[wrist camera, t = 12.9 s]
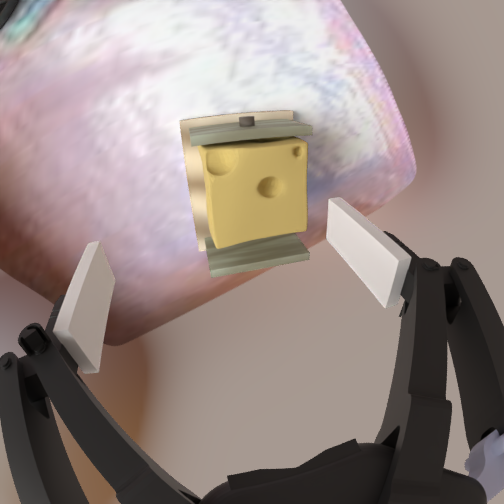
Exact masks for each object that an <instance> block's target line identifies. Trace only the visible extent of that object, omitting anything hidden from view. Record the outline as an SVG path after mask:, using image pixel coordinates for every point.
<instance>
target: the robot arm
mask: <svg viewBox="0 0 504 504" xmlns="http://www.w3.org/2000/svg"><path fill="white" fill-rule="evenodd" d="M17 2H18V0H0V28H1V27H2V26H3V25H4V23H5V22H6V21H7V19H8V18H9V16H10V15H11V13H12V11H13V10H14V8H15V6H16V4H17ZM326 239H327V240H328V242H329V243H330V244H331V245H332V246H333V247H334V248H335V249H336V251H337V252H338V253H339V254H340V255H341V256H342V258H343V259H344V260H345V261H346V262H347V263H348V265H349V266H350V267H351V268H352V269H353V270H354V272H355V273H356V274H357V275H358V276H359V278H360V279H361V280H362V281H363V282H364V283H365V285H366V286H367V287H368V288H369V290H370V291H371V292H372V293H373V295H374V296H375V297H376V298H377V300H378V301H379V302H380V303H381V304H382V306H383V307H384V308H385V309H387V308H389V307H392V306H395V305H397V304H398V301H399V298H400V295H401V296H402V297H403V298H404V299H405V301H404V304H403V307H402V310H401V313H400V315H399V317H401V316H402V320H401V329H400V337H399V344H398V351H397V357H396V363H395V369H394V375H393V380H392V385H391V390H390V394H389V399H388V403H387V408H386V412H385V416H384V420H383V423H382V426H381V429H380V431H379V433H378V435H377V437H376V439H375V442H374V443H357V441H356V439H353V440H350V441H347V442H345V443H342V444H340V445H338V446H335V447H332V448H329V449H327V450H325V451H323V452H322V453H320V454H319V455H317V456H316V457H314V458H312V459H311V460H309V461H308V462H306V463H304V464H302V465H300V466H299V467H296V468H286V469H259V470H254V471H250V472H245V473H240V474H235V475H229V476H227V478H228V481H227V482H225V483H222V484H221V485H219V486H217V487H216V488H214V489H213V490H211V491H210V492H209V493H208V494H207V495H205V497H204V498H203V499H200V498H199V497H198V496H197V495H195V494H194V493H193V492H191V491H190V490H189V489H187V488H186V487H184V486H183V485H181V484H180V483H179V482H177V481H176V480H175V479H174V478H173V477H171V476H170V475H169V474H168V473H167V472H166V471H165V470H163V469H162V468H161V467H160V466H159V465H158V464H157V463H156V462H154V461H153V460H152V459H151V458H150V457H149V456H148V455H147V454H146V453H145V452H144V451H143V450H142V449H141V448H140V447H139V446H138V445H137V444H136V443H135V442H134V441H133V440H132V439H131V438H130V437H129V436H128V435H127V434H126V432H125V431H124V430H123V429H122V428H121V427H120V426H119V425H118V424H117V423H116V421H115V420H114V419H113V418H112V417H111V416H110V414H109V413H108V412H107V411H106V410H105V409H104V407H103V406H102V405H101V404H100V402H99V401H98V400H97V399H96V397H95V396H94V395H93V394H92V392H91V391H90V390H89V388H88V387H87V386H86V384H85V383H84V382H83V380H82V379H81V378H80V376H79V375H78V374H77V369H78V366H79V367H80V368H81V370H82V371H83V372H84V373H98V372H99V366H100V359H101V352H102V346H103V340H104V334H105V328H106V322H107V317H108V312H109V307H110V302H111V298H112V293H113V289H114V284H115V278H114V276H113V273H112V271H111V268H110V266H109V263H108V261H107V258H106V255H105V253H104V250H103V248H102V245H101V242H100V241H96V242H91V243H88V245H87V247H86V249H85V251H84V253H83V255H82V258H81V260H80V262H79V264H78V267H77V269H76V271H75V274H74V276H73V278H72V281H71V283H70V286H69V288H68V291H67V293H66V295H61V296H60V298H59V299H58V300H57V301H56V303H55V305H54V307H53V310H52V311H53V312H52V313H51V316H50V319H49V321H48V324H47V326H46V329H45V331H44V329H43V328H42V326H41V325H40V324H38V323H32V324H30V325H28V326H26V327H25V328H24V329H23V330H22V331H21V333H20V335H19V338H18V343H19V345H20V346H21V347H22V348H23V350H24V351H25V352H26V354H27V355H26V356H24V357H21V358H19V359H18V357H17V356H16V355H15V354H14V353H13V352H8V353H5V354H4V355H2V356H1V358H0V419H1V426H2V432H3V438H4V443H5V448H6V453H7V458H8V462H9V466H10V469H11V473H12V477H13V480H14V484H15V487H16V490H17V493H18V496H19V499H20V502H21V504H89V502H88V500H87V498H86V496H85V494H84V492H83V490H82V488H81V486H80V484H79V482H78V479H77V477H76V475H75V473H74V471H73V468H72V466H71V463H70V460H69V458H68V455H67V453H66V450H65V447H64V445H63V442H62V439H61V436H60V433H59V430H58V427H57V424H56V420H55V417H54V414H53V410H52V407H51V403H50V400H51V402H52V403H53V405H54V407H55V409H56V410H57V412H58V414H59V415H60V417H61V418H62V420H63V422H64V423H65V425H66V426H67V428H68V430H69V431H70V432H71V434H72V436H73V437H74V439H75V440H76V441H77V443H78V444H79V446H80V447H81V449H82V450H83V451H84V453H85V454H86V455H87V457H88V458H89V459H90V461H91V462H92V463H93V465H94V466H95V467H96V468H97V470H98V471H99V472H100V473H101V474H102V476H103V477H104V478H105V479H106V480H107V481H108V483H109V484H110V485H111V486H112V487H113V489H114V490H115V491H116V497H117V499H118V501H119V502H120V503H121V504H487V502H488V501H489V500H491V499H492V498H493V497H494V496H496V495H497V494H498V493H499V492H500V491H501V490H503V489H504V326H503V324H502V321H501V319H500V317H499V315H498V313H497V310H496V308H495V306H494V304H493V302H492V300H491V298H490V296H489V294H488V292H487V290H486V288H485V286H484V284H483V282H482V280H481V279H480V277H479V275H478V273H477V271H476V270H475V268H474V266H473V265H472V264H471V262H469V261H468V260H467V259H464V258H459V257H456V258H454V259H453V260H452V263H451V265H450V266H444V267H443V266H442V267H441V266H440V265H439V264H438V262H436V261H434V260H432V259H429V258H419V257H418V256H417V255H416V254H415V253H414V252H413V251H411V250H410V249H409V248H408V247H407V246H405V245H404V244H403V243H402V242H401V241H400V240H399V239H397V238H396V237H395V236H394V235H392V234H390V233H388V232H386V231H381V230H380V229H379V228H378V227H377V226H375V225H374V224H373V223H372V222H370V221H369V220H368V219H367V218H366V217H365V216H363V215H362V214H361V213H360V212H358V211H357V210H356V209H355V208H353V207H352V206H351V205H350V204H348V203H347V202H346V201H344V200H343V199H342V198H341V197H336V198H329V202H328V220H327V236H326ZM447 340H448V344H449V348H450V352H451V355H452V359H453V364H454V368H455V372H456V377H457V382H458V387H459V392H460V398H461V404H462V410H463V417H464V424H465V431H466V437H467V441H468V445H469V448H470V454H469V458H468V459H467V460H466V462H465V469H466V470H467V471H469V475H468V476H466V475H463V474H459V473H457V472H453V471H451V470H447V469H445V468H443V467H444V463H445V457H446V452H447V446H448V439H449V432H450V424H451V415H452V403H451V401H449V400H446V381H447ZM49 398H50V399H49Z"/></svg>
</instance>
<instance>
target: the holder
mask: <svg viewBox="0 0 504 504" xmlns="http://www.w3.org/2000/svg"><path fill="white" fill-rule="evenodd" d="M180 129H181V137H182V145H183V152H184V160H185V167H186V174H187V180H188V187H189V193H190V200H191V206H192V212H193V218H194V224H195V230H196V236H197V241H198V247H199V252H200V251H205V250H206V251H207V257H208V262H209V268H210V273H211V278H213V277H218V276H224V275H230V274H235V273H241V272H246V271H251V270H257V269H262V268H268V267H273V266H278V265H284V264H289V263H294V262H299V261H304V260H309V256H310V255H309V254H310V252H309V251H308V250H307V248H306V247H305V246H304V244H303V243H302V242H301V240H300V239H299V238H298V237H297V235H296V234H295V233H289V234H283V235H277V236H271V237H266V238H261V239H255V240H250V241H246V242H242V243H239V244H235V245H232V246H228V247H224V248H220V249H217V248H216V246H215V244H214V242H213V239H212V236H211V233H210V229H209V224H208V218H207V208H206V188H205V181H204V173H203V165H202V160H201V157H200V154H199V150H198V147H197V146H200V145H207V144H214V143H222V142H230V141H239V140H248V139H259V138H271V137H286V136H305V135H312V126H311V125H307V124H304V123H300V122H296V121H293V111H290V110H283V111H262V112H248V113H236V114H226V115H217V116H209V117H201V118H194V119H187V120H181V121H180Z"/></svg>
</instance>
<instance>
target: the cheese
mask: <svg viewBox="0 0 504 504" xmlns="http://www.w3.org/2000/svg"><path fill="white" fill-rule="evenodd" d="M197 147H198V150H199V154H200V157H201V160H202V165H203V173H204V181H205V188H206V208H207V218H208V224H209V229H210V233H211V236H212V239H213V242H214V244H215V246H216V248H217V249H220V248H224V247H228V246H232V245H235V244H239V243H242V242H246V241H250V240H255V239H261V238H266V237H271V236H277V235H283V234H289V233H295V232H303V231H306V230H307V220H308V208H307V159H308V143H307V142H305V141H303V140H301V139H299V138H297V137H294V136H286V137H271V138H259V139H248V140H239V141H230V142H222V143H214V144H207V145H200V146H197Z"/></svg>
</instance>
